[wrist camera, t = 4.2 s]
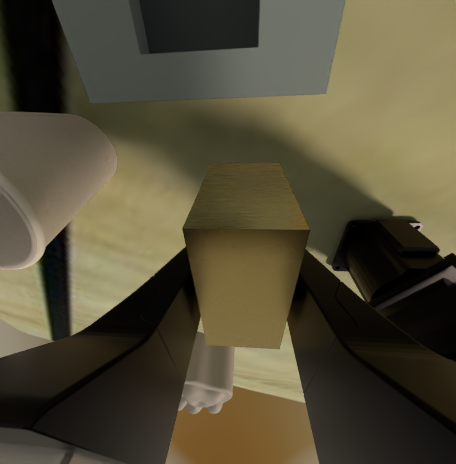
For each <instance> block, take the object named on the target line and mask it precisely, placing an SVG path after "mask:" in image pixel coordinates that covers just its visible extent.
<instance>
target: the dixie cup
mask: <svg viewBox="0 0 456 464" xmlns="http://www.w3.org/2000/svg"><path fill="white" fill-rule="evenodd" d="M116 170H117V156H116V153H115V150H114V147H113V145H112V143H111V142H110V140H109V139H108V137H107V136H106V135H105V134H104V132H103V131H102V130H101V129H100V128H99V127H97V126H96V125H95V124H94V123H92V122H91V121H89V120H87V119H85V118H83V117H81V116H79V115H75V114H61V113H36V112H11V111H0V270H16V269H22V268H26V267H28V266H31V265H33V264H34V263H36V262H37V261H38V260H39V259H40V258H41V257H42V255H43V253H44V250H45V247H46V246H47V245H48V244H49V243H50V242H51V240H52V239H53V238H54V237H55V236H56V235H57V234H58V233H59V232H60V231H61V230H62V229H63V228H64V227H65V226H66V225H67V224H68V223H69V222H70V221H71V220H72V219H73V218H74V217H75V216H76V215H77V213H78V212H79V211H80V210H81V209H82V208H83V207H84V206H85V205H86V204H87V203H88V202H89V201H90V200H91V199H92V198H93V197H94V196H95V195H96V194H97V193H98V192H99V191H100V190H101V189H102V187H103V186H104V185H105V184H106V183H107V182H108V181H109V180H110V179H111V178H112V177H113V176H114V174H115V172H116Z"/></svg>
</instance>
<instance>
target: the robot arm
mask: <svg viewBox="0 0 456 464" xmlns="http://www.w3.org/2000/svg"><path fill="white" fill-rule="evenodd" d="M353 225H355V226H354V227H352V226H353ZM415 226H416V227H415ZM422 228H423V224H421V223H420V222H419V221H406V220H375V221H370V220H353V221H350V222H349V223H348V224H347V227H346V229H345V232H344V234H343V237H342V240H341V242H340V245H339V248H338V250H337V253H336V255H335V258H334V261H333V263H332V268H333V270H334V271H348V272H349V273H350V275H351V277H352V279H353V281H354V282H355V284H356V286H357V288H358V290H359V291H360V293H361V295H362V297H363V299H364V300H365V301H364V300H363V299H361V298H360V297H359V296H358V295H357V294H355V293H354V292H353V291H352V290H351V289H350V288H348V287H347V286H346V285H345V284H344V283H343V282H340V280H339V279H338V278H337V277H336V276H335V275H334V274H333V273H332V272H331V271H329V270H328V269H327V268H326V267H325V266H324V265H323V264H322V263H321V262H319V261H318V260H317V259H316V258H315V257H314V256H313V255H312V254H310V253H309V252H308V251H307V250H306V249H305V251H304V255H303V259H302V263H301V267H300V271H299V275H298V279H297V283H296V287H295V290H294V294H293V298H292V302H291V306H290V310H289V314H288V318H287V322H288V326H289V331H290V335H291V340H292V344H293V348H294V353H295V357H296V362H297V366H298V371H299V375H300V380H301V384H302V388H303V393H304V398H305V402H306V407H307V411H308V415H309V420H310V424H311V429H312V433H313V437H314V442H315V446H316V451H317V455H318V460H319V464H456V255H455V254H453V253H451V254H449V255H447V256H445V257H444V258H445V259H444V258H443V257H441V256H440V255H439V254H438V253H439V251H440V249H439V248H438V247H437V246H436V245H435V244H434V243H432V242H431V241H430V240H429V239H428V238H426V237H425V236H424V235H423V234H422V233H420V231H421V230H422ZM200 317H201V314H200V309H199V305H198V300H197V295H196V290H195V286H194V281H193V276H192V271H191V267H190V262H189V257H188V252H187V247H185V248H184V249H182V250H181V251H180V252H179V253H178V254H177V255H176V256H175V257H174V258H172V259H171V260H170V261H169V262H168V263H167V264H166V265H165V266H163V267H162V268H161V269H160V270H159V271H158V272H157V273H156V274H155V275H154V276H152V277H151V278H150V279H149V280H148V281H147V282H145V283H144V284H143V285H142V286H141V287H140V288H138V289H137V290H136V291H135V292H133V293H132V294H131V295H130V296H128V297H127V298H126V299H125V300H123V301H122V302H121V303H119V304H118V305H117V306H115V307H114V308H113V309H111V310H110V311H109V312H107V313H106V314H105V315H103V316H102V317H101V318H99V319H98V320H97V321H95V322H94V323H93V324H91V325H90V326H88V327H87V328H85V329H84V330H82V331H80V332H78V333H76V334H74V335H72V336H69V337H67V338H64V339H61V340H58V341H54V342H51V343H48V344H44V345H41V346H38V347H35V348H31V349H28V350H25V351H21V352H18V353H15V354H12V355H9V356H5V357H2V358H0V464H165V462H166V458H167V453H168V449H169V445H170V441H171V437H172V433H173V429H174V425H175V421H176V416H177V412H178V408H179V404H180V400H181V396H182V392H183V388H184V383H185V379H186V375H187V371H188V367H189V363H190V358H191V354H192V350H193V346H194V342H195V338H196V334H197V330H198V325H199V321H200Z"/></svg>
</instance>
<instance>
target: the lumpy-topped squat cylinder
mask: <svg viewBox="0 0 456 464" xmlns="http://www.w3.org/2000/svg"><path fill="white" fill-rule="evenodd" d="M234 349H235V347H232V346H215V345H207V343H206V338H205V334H204V333H200V332H197V334H196V338H195V342H194V346H193V350H192V354H191V358H190V363H189V367H188V371H187V375H186V379H185V383H184V388H183V392H182V396H181V400H180V404H179V408H178V411H179V410H181V409H183V407H184V406H186V407H187V409H188V411H189V412H190V413H191V414H196V413H198V412H199V411H200V410H201V409H202V407H207V408H208V411H209V412H210V413H213V414H216V413H218V412H219V411H220V409H221V408H222V405H223V403H224V402H226V401H227V400H229V399H230V398H231V397H232V393H233V392H232V389H233V371H234Z"/></svg>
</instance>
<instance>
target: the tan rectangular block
mask: <svg viewBox="0 0 456 464" xmlns="http://www.w3.org/2000/svg"><path fill="white" fill-rule="evenodd" d="M309 232H310V229H309V227H308V224H307V222H306V220H305V218H304V215H303V213H302V211H301V209H300V207H299V204H298V202H297V200H296V198H295V196H294V193H293V191H292V189H291V187H290V185H289V182H288V180H287V178H286V176H285V173H284V171H283V169H282V167H281V165H280V163H230V164H211V165H210V167H209V170H208V172H207V174H206V176H205V179H204V181H203V183H202V186H201V188H200V190H199V192H198V195H197V197H196V199H195V201H194V204H193V206H192V208H191V210H190V213H189V215H188V217H187V219H186V222H185V224H184V226H183V233H184V238H185V243H186V247H187V252H188V257H189V262H190V267H191V271H192V276H193V281H194V286H195V290H196V295H197V300H198V305H199V309H200V314H201V319H202V324H203V329H204V333H205V338H206V343H207V345H215V346H232V347H250V348H267V349H280V345H281V341H282V337H283V333H284V330H285V326H286V322H287V318H288V314H289V310H290V306H291V302H292V298H293V294H294V290H295V287H296V283H297V279H298V275H299V271H300V267H301V263H302V259H303V255H304V251H305V247H306V244H307V240H308V236H309Z"/></svg>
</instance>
